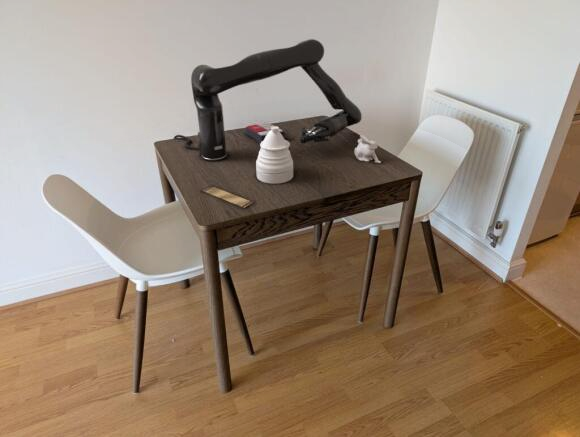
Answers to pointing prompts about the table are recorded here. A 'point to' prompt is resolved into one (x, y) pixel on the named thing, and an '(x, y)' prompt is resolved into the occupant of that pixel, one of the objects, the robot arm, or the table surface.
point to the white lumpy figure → (366, 150)
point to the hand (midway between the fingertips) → (302, 140)
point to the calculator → (260, 131)
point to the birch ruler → (228, 197)
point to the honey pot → (274, 159)
